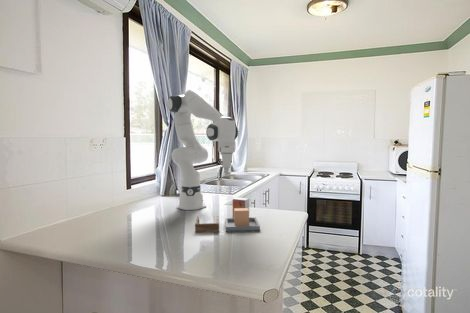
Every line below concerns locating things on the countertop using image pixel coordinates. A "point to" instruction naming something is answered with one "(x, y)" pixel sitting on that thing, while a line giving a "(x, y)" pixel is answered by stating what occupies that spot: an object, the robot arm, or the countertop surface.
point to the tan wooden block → (241, 216)
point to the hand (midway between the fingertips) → (226, 174)
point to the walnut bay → (206, 226)
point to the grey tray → (252, 226)
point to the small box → (240, 203)
